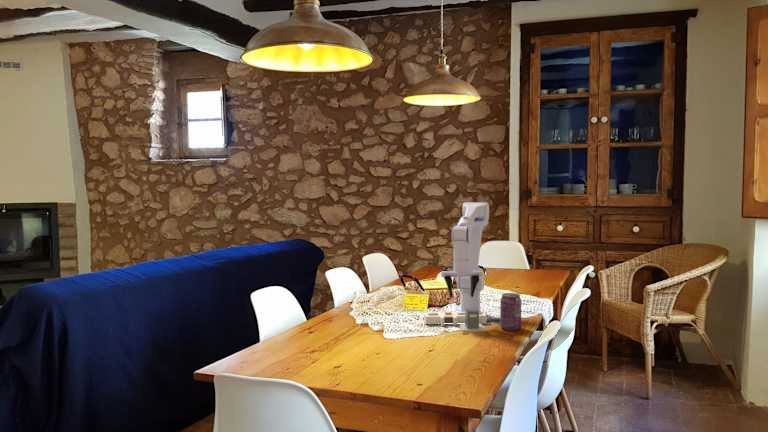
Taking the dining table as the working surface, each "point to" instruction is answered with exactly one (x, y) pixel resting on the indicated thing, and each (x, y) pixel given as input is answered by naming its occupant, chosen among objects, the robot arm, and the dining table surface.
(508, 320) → the beverage can
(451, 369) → the dining table surface
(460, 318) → the power strip
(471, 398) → the dining table surface
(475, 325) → the block
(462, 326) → the coaster
